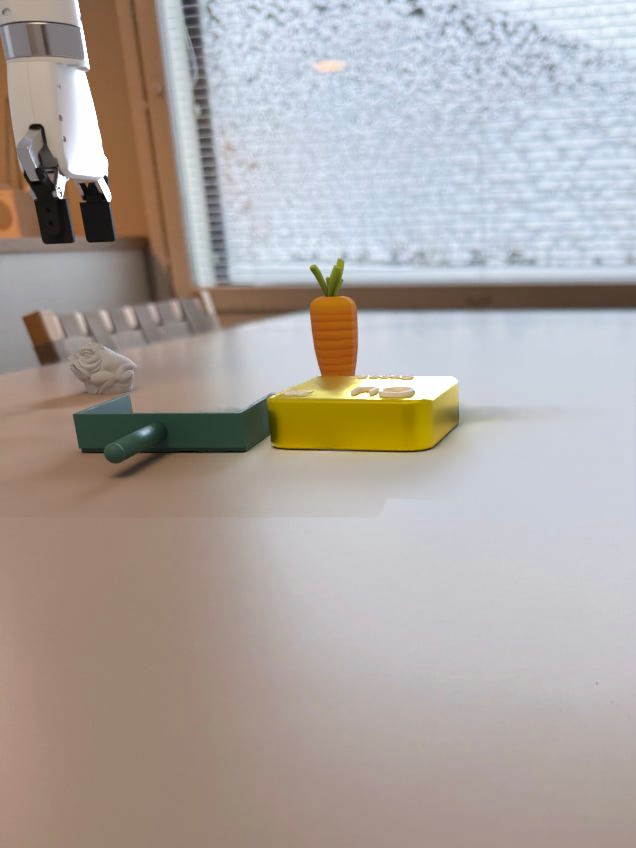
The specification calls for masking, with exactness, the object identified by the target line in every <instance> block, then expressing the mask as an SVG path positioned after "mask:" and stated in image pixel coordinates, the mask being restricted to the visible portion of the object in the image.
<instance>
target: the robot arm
mask: <svg viewBox="0 0 636 848" xmlns="http://www.w3.org/2000/svg"><path fill="white" fill-rule="evenodd" d="M0 40H1V44H2V49H3V55H4V59H5V63H6V80H7V94H8V103H9V105H8V106H9V110H10V119H11V126H12V132H13V138H14V144H15V153H16V157H17V161H18V166H19V170H20V172H21V173H22V175H23V178H24V179H25V181H26V182H27V185H29V195H30V197H31V199H32V200H33V203H34V208H35V213H36V218H37V222H38V227H39V231H40V238H41V241H42V243H43V244H44V245H62V244H64V245H65V244H74V243H76V235H75V229H74V225H73V219H72V214H71V209H70V203H69V199H68V198H64V193H65V186H66V183H67V182H69V180H70V179H71V180H72V182H73V184H74V186H75V188H76V190H77V192H78V194H79V196H80V197H81V199H82V202H79V203H78V204H79V208H80V212H81V213H80V214H81V221H82V224H83V225H82V226H83V230H84V236H85V240H86V242H87V243H90V244H92V243H95V244H97V243H114V242H116V241H117V232H116V228H115V222H114V216H113V215H114V214H113V210H112V205H111V200H112V195H111V192H110V189H109V188H110V183H111V182H110V181H111V180H110V178H109V177H108V175H109V171H108V170H109V162H108V159H107V157H106V156H105V154H104V148H103V142H102V136H101V132H100V126H99V123H98V118H97V114H96V109H95V105H94V100H93V97H92V93H91V89H90V85H89V81H88V79H87V75H86V73H87V72H90V70H91V67H90V64H89V63H90V62H89V57H88V52H87V45H86V40H85V34H84V28H83V23H82V17H81V12H80V7H79V1H78V0H0Z"/></svg>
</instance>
